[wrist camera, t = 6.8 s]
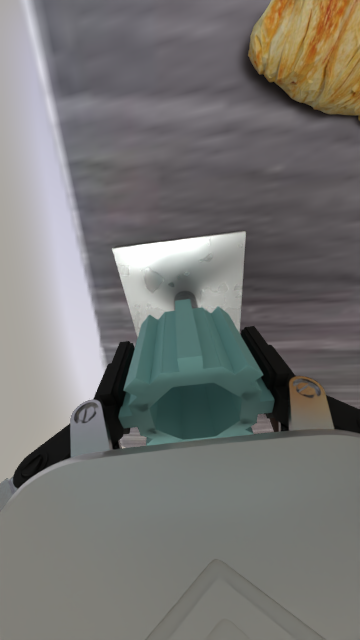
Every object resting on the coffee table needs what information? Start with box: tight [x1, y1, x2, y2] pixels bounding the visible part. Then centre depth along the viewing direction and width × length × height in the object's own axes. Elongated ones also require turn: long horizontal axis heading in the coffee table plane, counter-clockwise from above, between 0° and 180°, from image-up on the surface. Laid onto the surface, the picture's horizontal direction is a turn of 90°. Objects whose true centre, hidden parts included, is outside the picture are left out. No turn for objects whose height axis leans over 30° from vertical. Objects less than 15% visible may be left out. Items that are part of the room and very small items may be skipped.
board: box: [112, 231, 246, 337], centre depth 20 cm, size 12×22×7 cm, turn 7°
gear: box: [118, 299, 275, 446], centre depth 10 cm, size 7×7×5 cm
